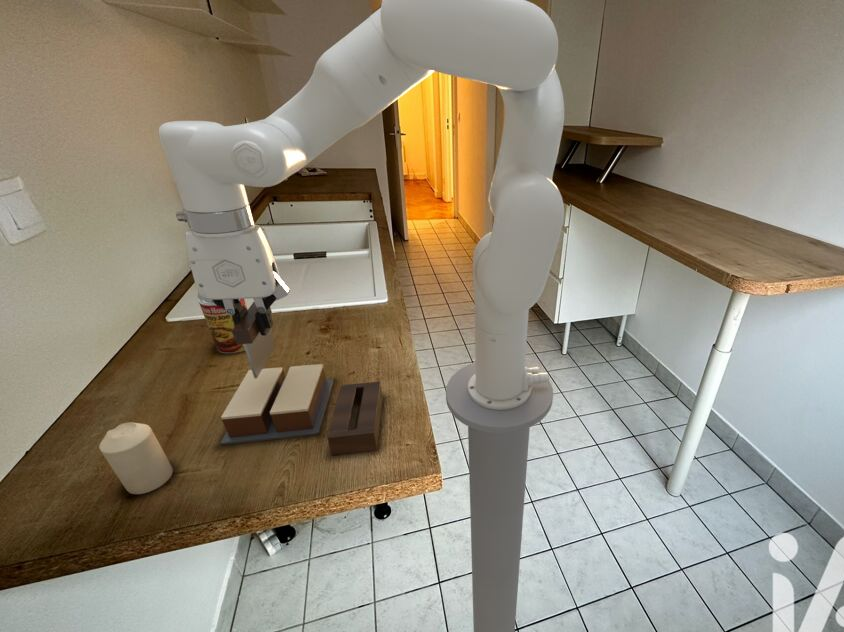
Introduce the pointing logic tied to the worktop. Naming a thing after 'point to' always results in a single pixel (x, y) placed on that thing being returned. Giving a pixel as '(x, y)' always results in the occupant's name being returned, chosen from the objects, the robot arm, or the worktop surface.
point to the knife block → (345, 415)
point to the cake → (277, 405)
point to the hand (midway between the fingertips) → (256, 331)
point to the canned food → (221, 327)
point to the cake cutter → (253, 340)
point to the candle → (136, 457)
